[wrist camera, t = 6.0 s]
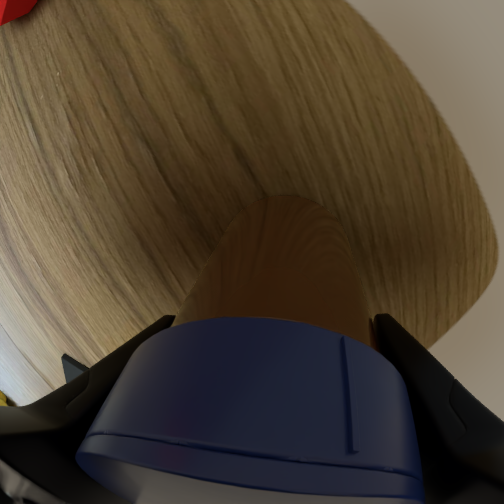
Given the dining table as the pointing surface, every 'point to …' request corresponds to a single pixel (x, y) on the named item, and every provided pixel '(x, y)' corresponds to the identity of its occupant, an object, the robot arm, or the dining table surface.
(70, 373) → the mat
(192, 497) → the jar lid
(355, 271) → the jam jar
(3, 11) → the apple
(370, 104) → the dining table surface
